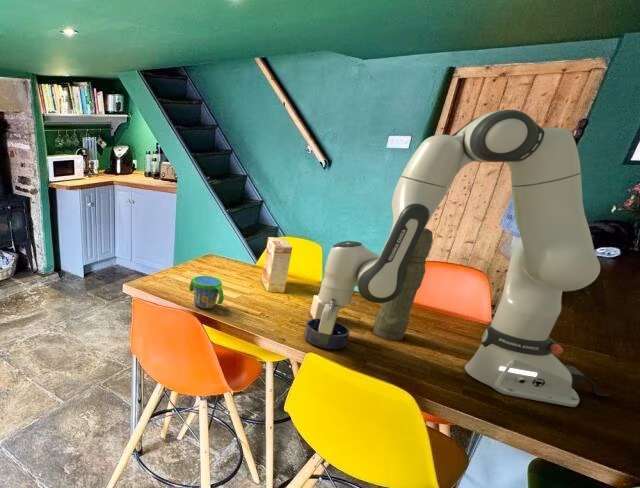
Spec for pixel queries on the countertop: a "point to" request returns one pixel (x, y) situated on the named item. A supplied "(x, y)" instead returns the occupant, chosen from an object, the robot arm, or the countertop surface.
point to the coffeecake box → (276, 264)
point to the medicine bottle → (317, 307)
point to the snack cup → (206, 291)
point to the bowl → (326, 335)
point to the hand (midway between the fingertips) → (325, 335)
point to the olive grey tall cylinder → (404, 293)
